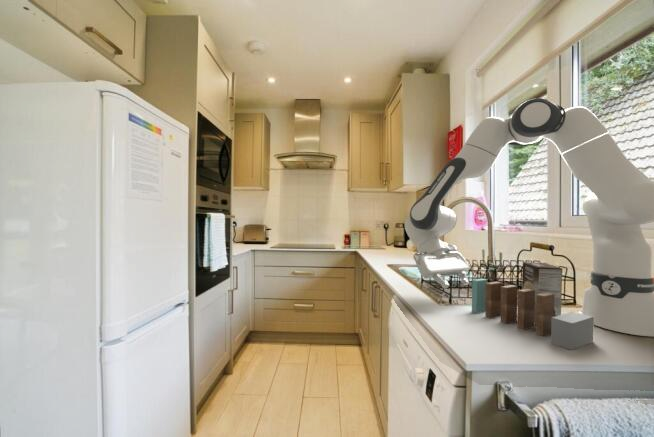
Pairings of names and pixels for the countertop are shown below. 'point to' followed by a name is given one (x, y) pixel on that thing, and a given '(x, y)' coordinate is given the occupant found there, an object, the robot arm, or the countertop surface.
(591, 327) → the end block
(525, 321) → the domino
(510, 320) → the domino
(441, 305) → the countertop surface
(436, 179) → the robot arm
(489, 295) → the domino
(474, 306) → the domino
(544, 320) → the domino
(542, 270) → the coffee box
